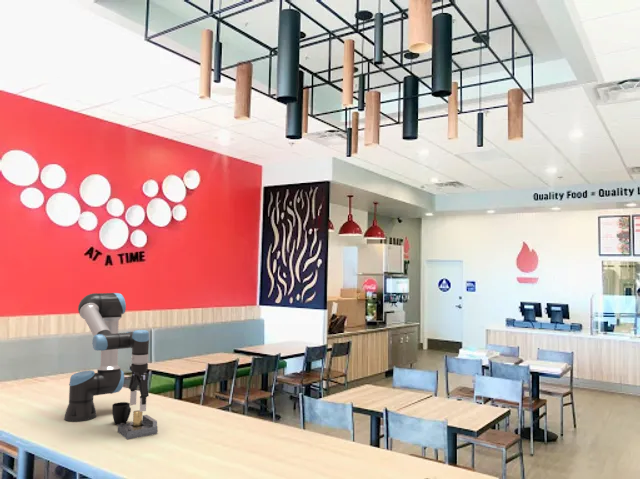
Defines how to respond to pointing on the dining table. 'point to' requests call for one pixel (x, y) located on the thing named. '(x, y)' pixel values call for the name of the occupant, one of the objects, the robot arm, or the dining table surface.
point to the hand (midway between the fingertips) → (137, 408)
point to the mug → (121, 412)
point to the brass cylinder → (137, 418)
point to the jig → (138, 428)
